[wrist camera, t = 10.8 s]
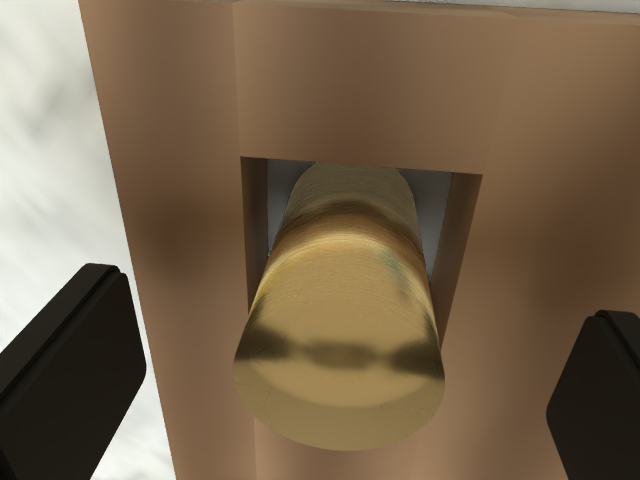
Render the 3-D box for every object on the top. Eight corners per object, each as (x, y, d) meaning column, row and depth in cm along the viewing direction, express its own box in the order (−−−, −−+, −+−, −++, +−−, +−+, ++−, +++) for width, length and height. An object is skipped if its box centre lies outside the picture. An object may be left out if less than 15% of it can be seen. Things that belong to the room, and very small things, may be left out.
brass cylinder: (424, 157, 14) (465, 313, 8) (405, 270, 16) (426, 460, 10) (289, 148, 14) (226, 291, 8) (288, 259, 16) (238, 439, 10)
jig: (796, 22, 11) (926, 40, 8) (561, 473, 20) (588, 547, 18) (139, -13, 12) (76, -5, 9) (203, 433, 21) (180, 497, 19)
